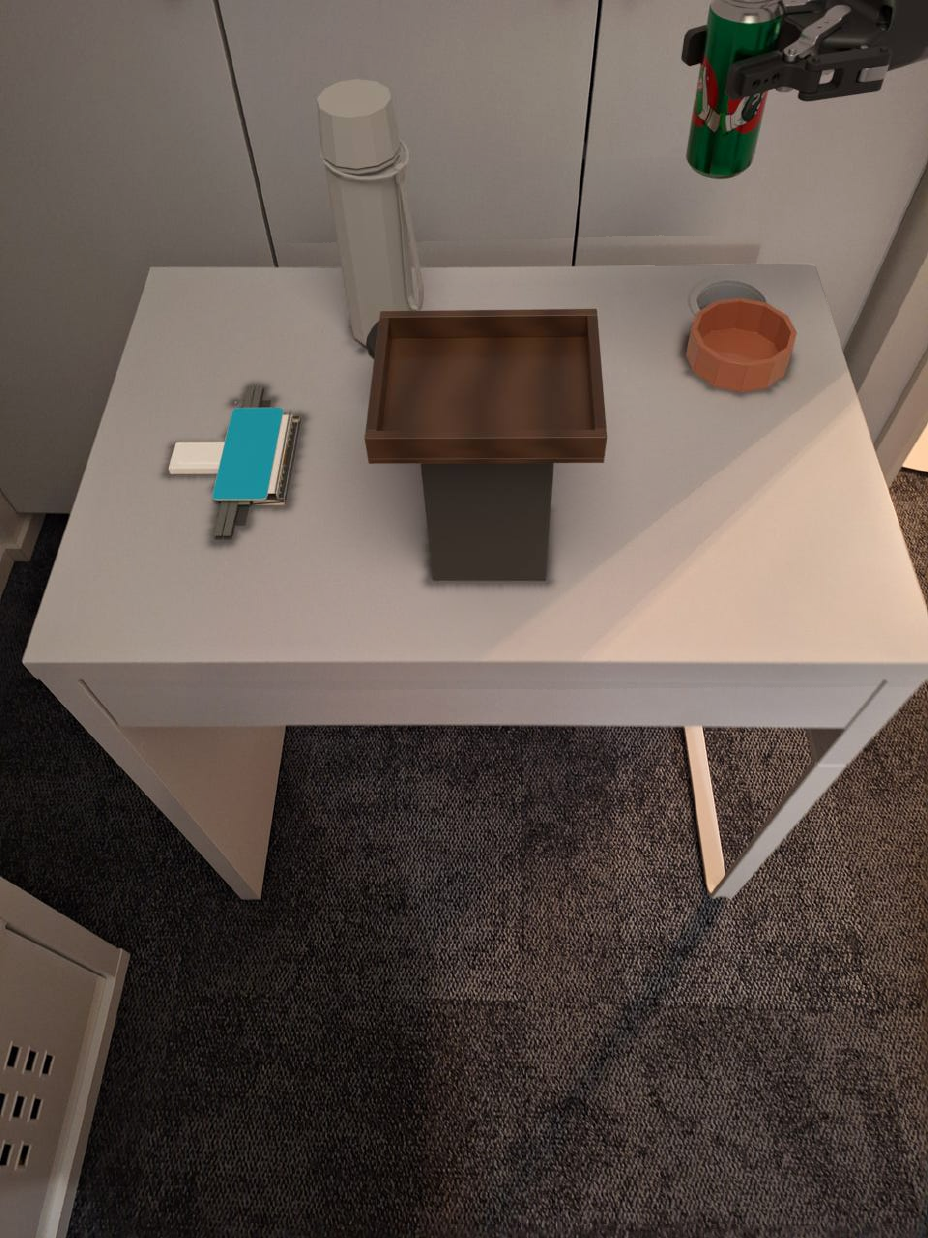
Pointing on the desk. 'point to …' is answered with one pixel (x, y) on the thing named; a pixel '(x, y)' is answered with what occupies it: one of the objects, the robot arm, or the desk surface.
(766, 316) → the bowl
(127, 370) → the desk surface
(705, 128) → the soda can
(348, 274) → the water bottle
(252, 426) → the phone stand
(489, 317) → the tray
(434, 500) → the stand
